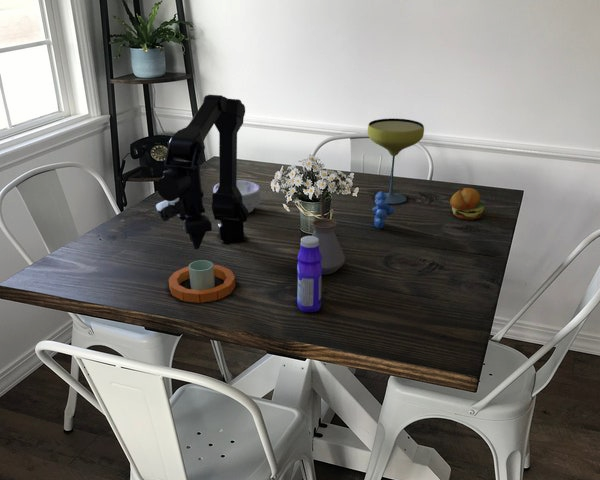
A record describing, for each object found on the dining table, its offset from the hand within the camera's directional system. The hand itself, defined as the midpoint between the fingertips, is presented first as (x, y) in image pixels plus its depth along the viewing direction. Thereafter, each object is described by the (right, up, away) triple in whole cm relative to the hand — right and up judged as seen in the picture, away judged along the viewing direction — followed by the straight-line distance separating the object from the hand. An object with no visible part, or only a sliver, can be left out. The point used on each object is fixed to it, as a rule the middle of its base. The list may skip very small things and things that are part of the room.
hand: (194, 245), depth 160 cm
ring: (+3, -11, -4) cm, 12 cm away
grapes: (+52, +7, +30) cm, 60 cm away
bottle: (+29, -16, -12) cm, 35 cm away
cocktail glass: (+58, +20, +52) cm, 81 cm away
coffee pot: (+33, -3, +10) cm, 35 cm away
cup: (+3, -11, -4) cm, 12 cm away
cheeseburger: (+80, +13, +39) cm, 90 cm away
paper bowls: (+7, +15, +43) cm, 46 cm away
